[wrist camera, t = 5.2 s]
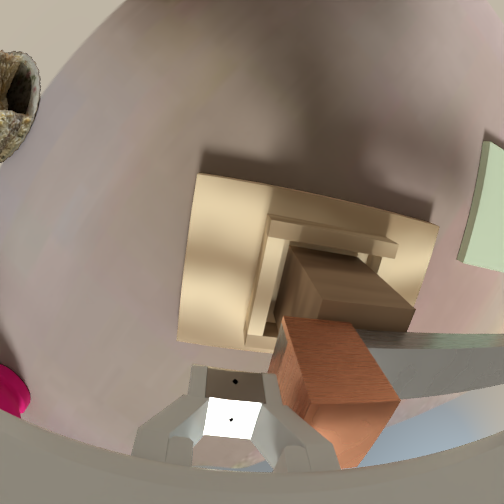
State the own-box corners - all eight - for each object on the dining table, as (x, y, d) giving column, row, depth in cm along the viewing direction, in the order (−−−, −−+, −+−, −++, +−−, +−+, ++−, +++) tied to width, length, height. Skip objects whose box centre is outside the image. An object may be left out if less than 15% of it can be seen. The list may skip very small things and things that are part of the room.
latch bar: (282, 315, 12) (311, 403, 8) (513, 329, 14) (560, 368, 9) (264, 382, 13) (278, 472, 9) (490, 375, 15) (529, 417, 10)
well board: (199, 172, 20) (193, 176, 17) (429, 222, 22) (454, 233, 19) (179, 330, 23) (172, 356, 20) (384, 350, 26) (400, 372, 22)
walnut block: (289, 245, 20) (322, 299, 13) (357, 256, 21) (415, 309, 13) (273, 312, 22) (293, 388, 14) (337, 319, 22) (379, 389, 15)
